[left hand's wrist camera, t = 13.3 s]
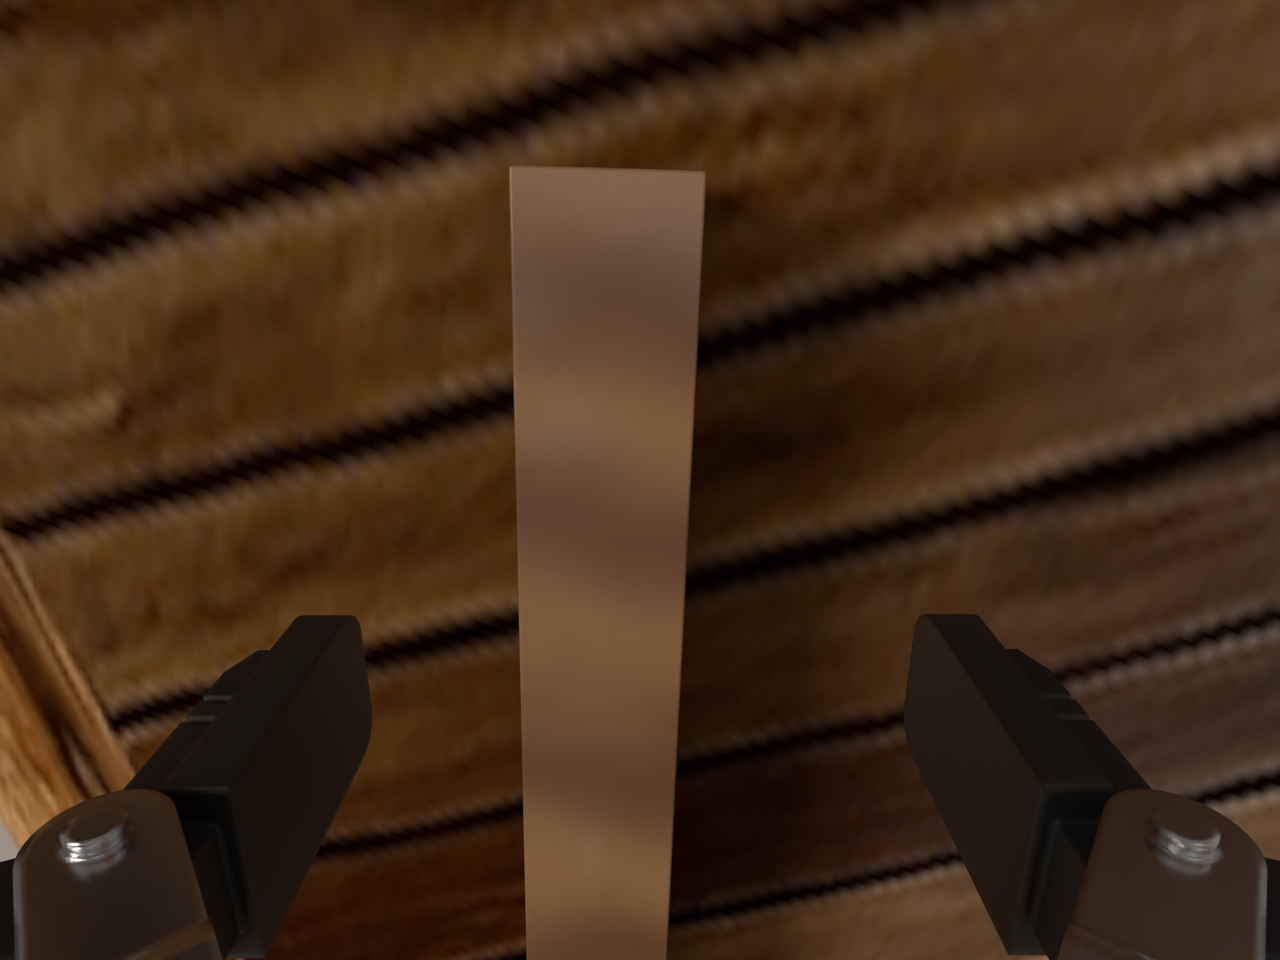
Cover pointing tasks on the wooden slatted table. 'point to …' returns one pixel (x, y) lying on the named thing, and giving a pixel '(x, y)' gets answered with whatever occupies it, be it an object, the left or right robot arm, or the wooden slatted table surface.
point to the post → (602, 541)
